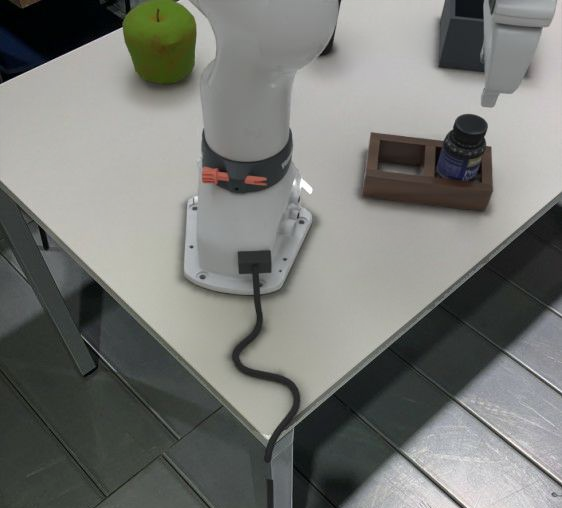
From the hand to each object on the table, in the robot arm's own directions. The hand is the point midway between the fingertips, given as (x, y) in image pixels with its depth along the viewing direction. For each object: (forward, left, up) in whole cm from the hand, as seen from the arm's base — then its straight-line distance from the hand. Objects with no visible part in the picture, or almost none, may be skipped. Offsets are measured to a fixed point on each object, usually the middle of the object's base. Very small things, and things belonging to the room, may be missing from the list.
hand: (486, 81), depth 82 cm
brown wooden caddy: (0, +5, -17) cm, 18 cm away
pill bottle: (0, 0, -18) cm, 18 cm away
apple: (+20, +51, -18) cm, 58 cm away
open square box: (+39, -5, -17) cm, 43 cm away
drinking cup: (+33, +25, -18) cm, 45 cm away
